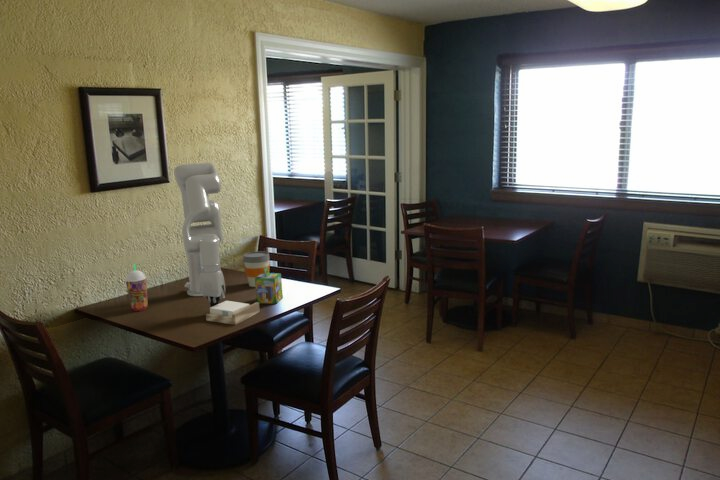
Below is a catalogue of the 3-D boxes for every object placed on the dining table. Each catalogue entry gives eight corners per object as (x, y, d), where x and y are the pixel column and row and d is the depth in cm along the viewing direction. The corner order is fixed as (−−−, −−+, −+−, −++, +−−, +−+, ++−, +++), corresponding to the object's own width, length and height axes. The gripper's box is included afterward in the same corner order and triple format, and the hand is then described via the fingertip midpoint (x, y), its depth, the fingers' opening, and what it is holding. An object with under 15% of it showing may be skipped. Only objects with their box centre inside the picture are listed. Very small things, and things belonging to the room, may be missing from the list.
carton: (210, 319, 231) (209, 307, 230) (227, 311, 240) (226, 300, 239) (233, 323, 225) (232, 311, 224) (250, 315, 234) (249, 303, 233)
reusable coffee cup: (250, 289, 269) (247, 258, 266) (241, 283, 279) (239, 253, 276) (275, 285, 275) (273, 254, 272) (266, 279, 286) (263, 249, 282)
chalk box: (276, 304, 246) (274, 271, 243) (256, 303, 248) (253, 270, 245) (283, 297, 255) (281, 265, 252) (264, 297, 256) (261, 265, 253)
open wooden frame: (206, 320, 229) (205, 311, 228) (231, 308, 243) (230, 299, 242) (236, 324, 223) (235, 315, 222) (259, 311, 237) (258, 302, 236)
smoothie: (130, 313, 241) (124, 267, 237) (128, 308, 248) (122, 263, 244) (151, 309, 245) (145, 264, 241) (148, 304, 252) (143, 260, 248)
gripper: (190, 269, 233) (194, 312, 236) (220, 271, 226) (224, 316, 230) (202, 264, 239) (206, 306, 243) (231, 267, 233) (235, 310, 237)
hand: (215, 311), depth 237 cm, fingers closed
